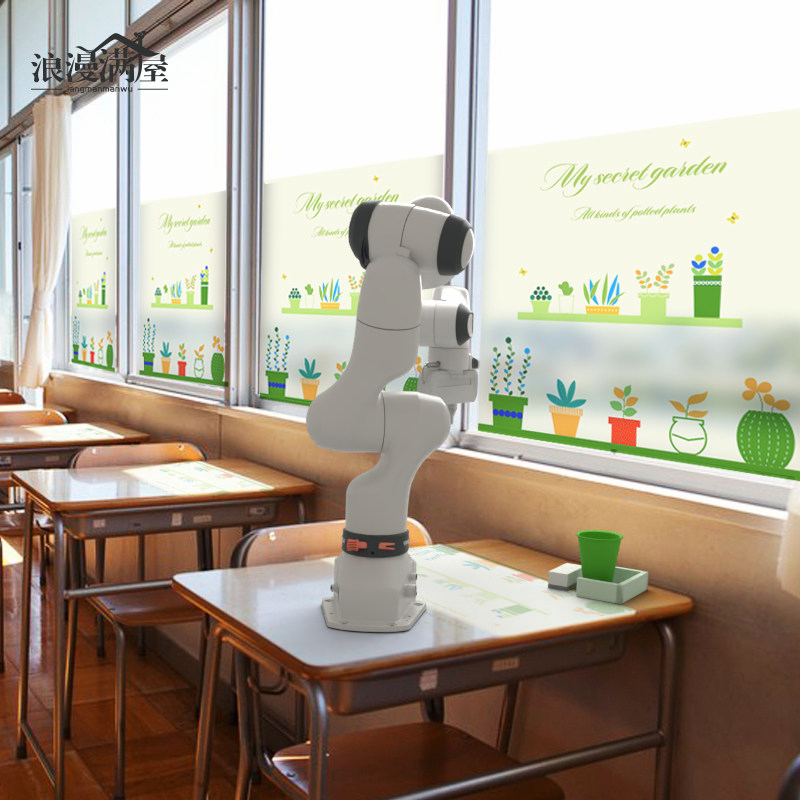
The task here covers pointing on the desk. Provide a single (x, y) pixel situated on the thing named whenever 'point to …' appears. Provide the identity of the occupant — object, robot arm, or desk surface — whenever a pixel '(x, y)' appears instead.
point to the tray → (614, 586)
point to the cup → (598, 553)
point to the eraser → (564, 576)
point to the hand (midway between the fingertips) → (446, 424)
